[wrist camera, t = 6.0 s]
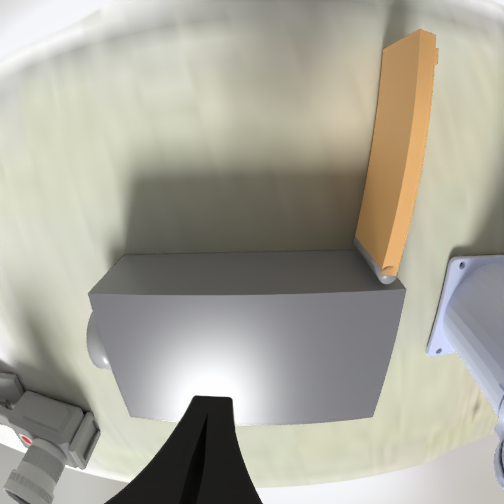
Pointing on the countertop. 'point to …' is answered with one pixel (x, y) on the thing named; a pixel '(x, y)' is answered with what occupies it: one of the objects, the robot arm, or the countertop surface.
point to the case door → (396, 151)
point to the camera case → (247, 333)
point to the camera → (43, 440)
